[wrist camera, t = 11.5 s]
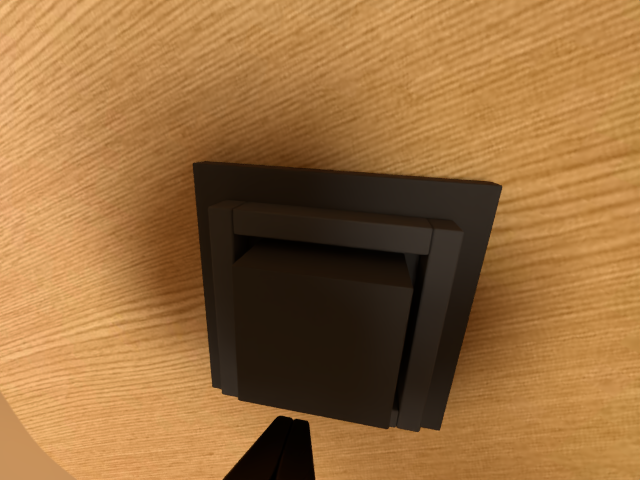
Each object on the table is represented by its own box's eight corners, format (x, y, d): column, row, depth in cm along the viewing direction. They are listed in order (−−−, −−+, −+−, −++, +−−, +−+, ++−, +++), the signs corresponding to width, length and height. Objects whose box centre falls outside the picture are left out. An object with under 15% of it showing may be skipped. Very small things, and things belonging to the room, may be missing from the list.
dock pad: (436, 413, 15) (447, 462, 13) (220, 374, 17) (196, 411, 15) (492, 181, 11) (523, 192, 9) (204, 161, 13) (168, 166, 11)
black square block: (385, 371, 14) (388, 430, 11) (263, 351, 15) (238, 400, 12) (404, 253, 12) (413, 288, 9) (262, 237, 13) (230, 265, 10)
